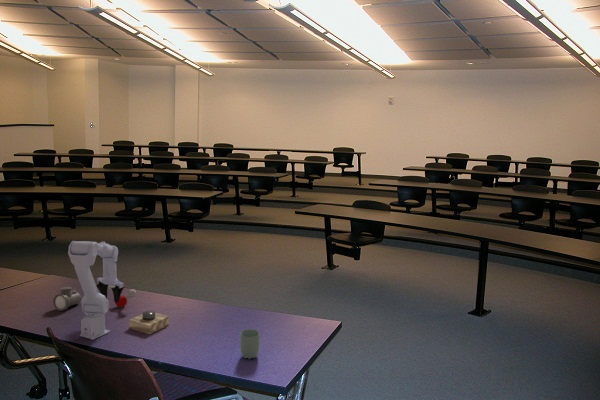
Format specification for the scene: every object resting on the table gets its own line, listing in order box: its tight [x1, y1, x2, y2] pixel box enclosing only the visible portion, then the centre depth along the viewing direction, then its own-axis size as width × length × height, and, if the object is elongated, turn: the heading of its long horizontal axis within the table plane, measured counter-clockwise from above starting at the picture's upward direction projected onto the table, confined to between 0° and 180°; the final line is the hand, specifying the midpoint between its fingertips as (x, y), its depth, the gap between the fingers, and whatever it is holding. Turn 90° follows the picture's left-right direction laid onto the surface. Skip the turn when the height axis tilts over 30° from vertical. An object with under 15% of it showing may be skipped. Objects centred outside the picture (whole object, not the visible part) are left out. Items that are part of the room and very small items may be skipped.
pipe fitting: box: [52, 286, 82, 312], centre depth 256 cm, size 12×8×10 cm
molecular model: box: [107, 285, 137, 308], centre depth 258 cm, size 18×6×10 cm, turn 62°
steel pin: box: [142, 310, 156, 321], centre depth 236 cm, size 5×5×6 cm
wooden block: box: [128, 312, 170, 335], centre depth 236 cm, size 12×12×4 cm
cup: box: [239, 328, 261, 360], centre depth 210 cm, size 8×8×10 cm
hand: (110, 300), depth 241 cm, fingers open, 7 cm apart
